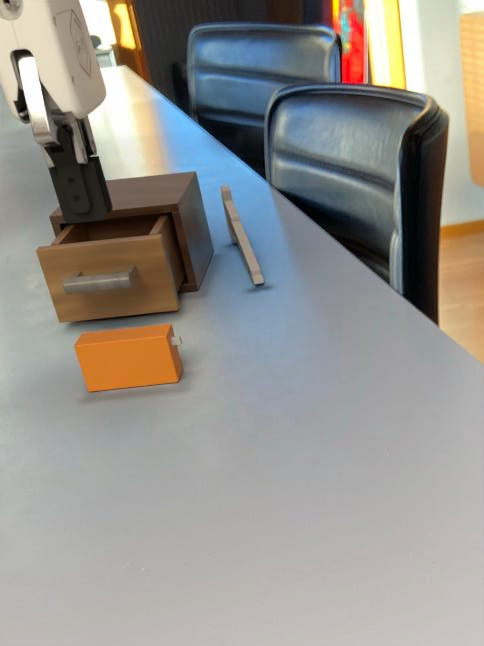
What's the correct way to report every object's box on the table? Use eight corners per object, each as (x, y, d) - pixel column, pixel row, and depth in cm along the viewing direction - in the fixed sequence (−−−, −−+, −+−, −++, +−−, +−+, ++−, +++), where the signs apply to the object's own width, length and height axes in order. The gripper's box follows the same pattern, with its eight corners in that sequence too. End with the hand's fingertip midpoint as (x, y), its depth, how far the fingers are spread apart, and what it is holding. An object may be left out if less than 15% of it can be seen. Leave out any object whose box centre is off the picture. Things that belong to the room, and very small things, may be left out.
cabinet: (198, 290, 105) (177, 203, 100) (76, 303, 105) (48, 216, 100) (214, 251, 117) (196, 171, 112) (104, 262, 116) (81, 182, 111)
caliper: (229, 240, 120) (217, 183, 117) (239, 238, 121) (227, 182, 117) (255, 287, 105) (242, 224, 101) (265, 285, 105) (253, 222, 101)
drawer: (172, 325, 94) (152, 249, 90) (48, 338, 94) (23, 263, 90) (196, 269, 108) (180, 201, 104) (88, 280, 108) (68, 213, 104)
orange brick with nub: (88, 392, 85) (73, 345, 82) (95, 378, 87) (81, 332, 85) (187, 381, 85) (175, 334, 83) (192, 368, 87) (180, 322, 85)
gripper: (32, -77, 61) (120, 239, 72) (86, -81, 74) (154, 189, 85) (-94, -65, 61) (13, 250, 72) (-18, -71, 74) (64, 199, 84)
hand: (89, 216), depth 78 cm, fingers closed
